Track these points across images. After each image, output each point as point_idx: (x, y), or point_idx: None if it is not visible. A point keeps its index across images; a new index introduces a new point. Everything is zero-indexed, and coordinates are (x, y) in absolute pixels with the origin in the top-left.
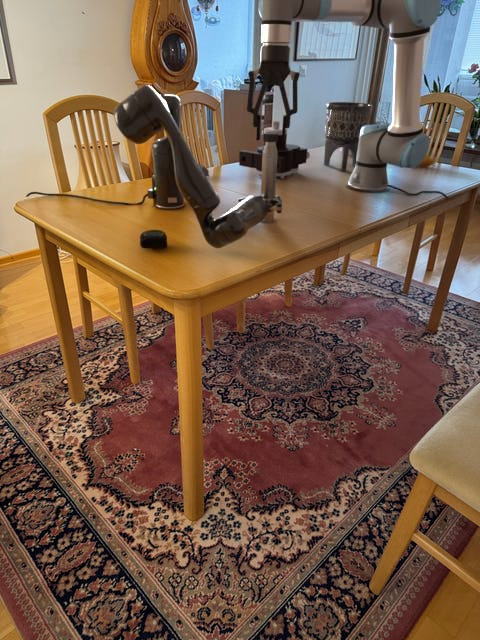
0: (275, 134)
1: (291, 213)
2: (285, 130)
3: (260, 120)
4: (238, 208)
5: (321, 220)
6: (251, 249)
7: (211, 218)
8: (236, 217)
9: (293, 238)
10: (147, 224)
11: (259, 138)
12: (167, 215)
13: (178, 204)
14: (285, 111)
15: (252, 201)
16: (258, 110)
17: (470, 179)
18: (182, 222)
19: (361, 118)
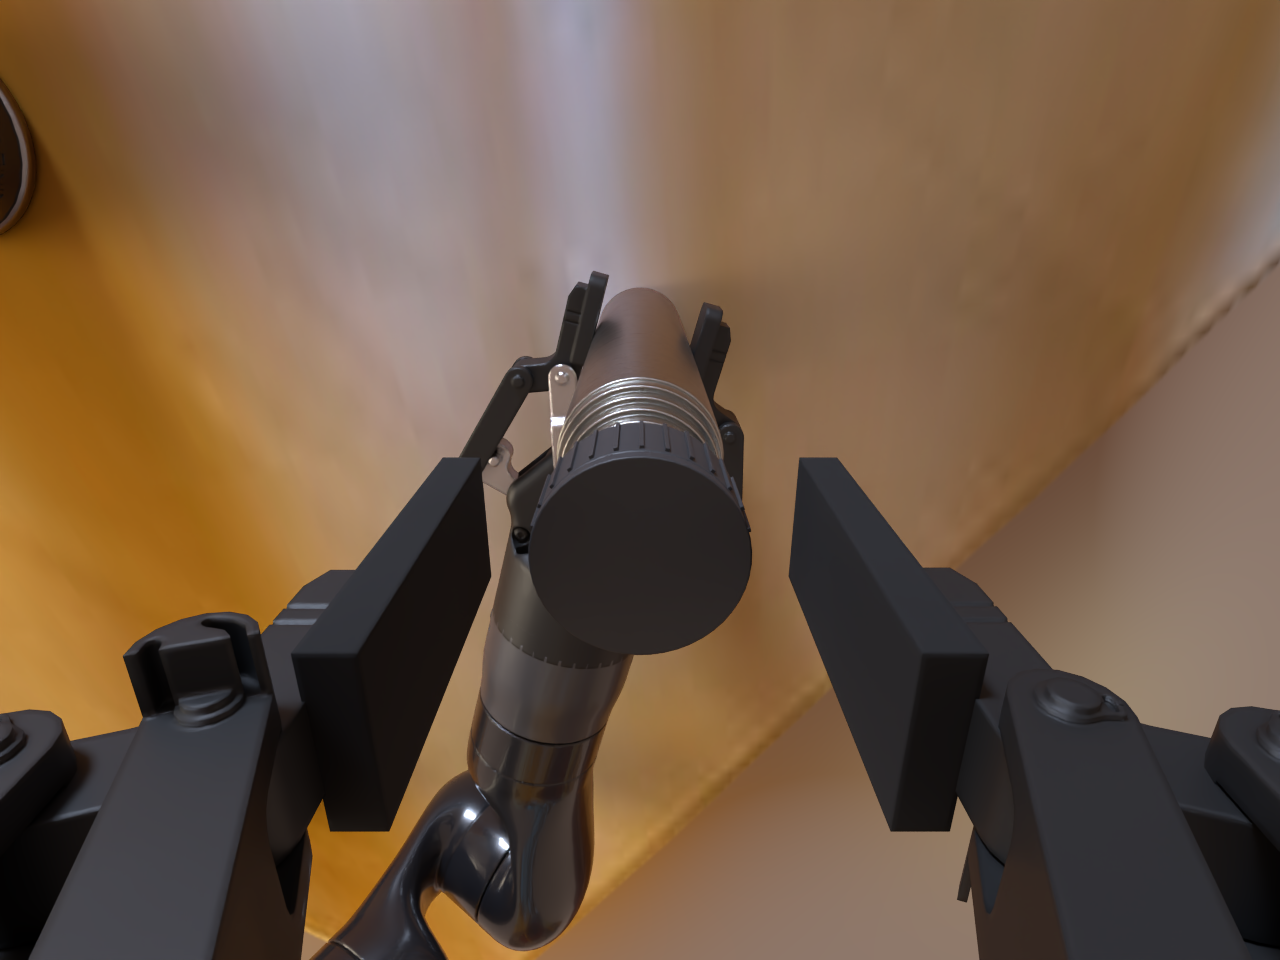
0: (710, 629)
1: (794, 141)
2: (877, 514)
3: (407, 631)
4: (525, 805)
5: (975, 261)
6: (612, 717)
7: (430, 879)
8: (549, 939)
9: (787, 576)
10: (41, 519)
11: (483, 541)
12: (46, 353)
13: (6, 200)
14: (974, 912)
15: (576, 694)
16: (301, 889)
17: None
18: (193, 456)
19: None
